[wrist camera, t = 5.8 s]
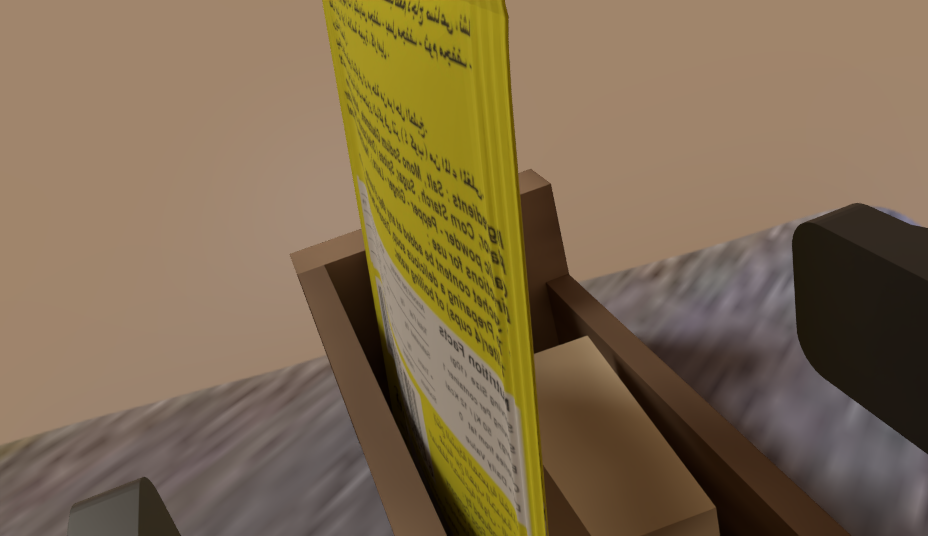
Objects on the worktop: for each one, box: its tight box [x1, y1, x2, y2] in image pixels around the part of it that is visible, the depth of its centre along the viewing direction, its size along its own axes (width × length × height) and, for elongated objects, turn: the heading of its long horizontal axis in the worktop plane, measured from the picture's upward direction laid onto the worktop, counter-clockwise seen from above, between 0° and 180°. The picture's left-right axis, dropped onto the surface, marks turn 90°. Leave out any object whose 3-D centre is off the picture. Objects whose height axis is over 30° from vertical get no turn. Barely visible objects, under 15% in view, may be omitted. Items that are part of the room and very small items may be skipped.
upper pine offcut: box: [534, 336, 720, 536], centre depth 26 cm, size 4×9×2 cm, turn 14°
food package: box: [322, 0, 549, 536], centre depth 21 cm, size 15×1×20 cm, turn 18°
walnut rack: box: [290, 169, 851, 536], centre depth 26 cm, size 10×21×8 cm, turn 19°
